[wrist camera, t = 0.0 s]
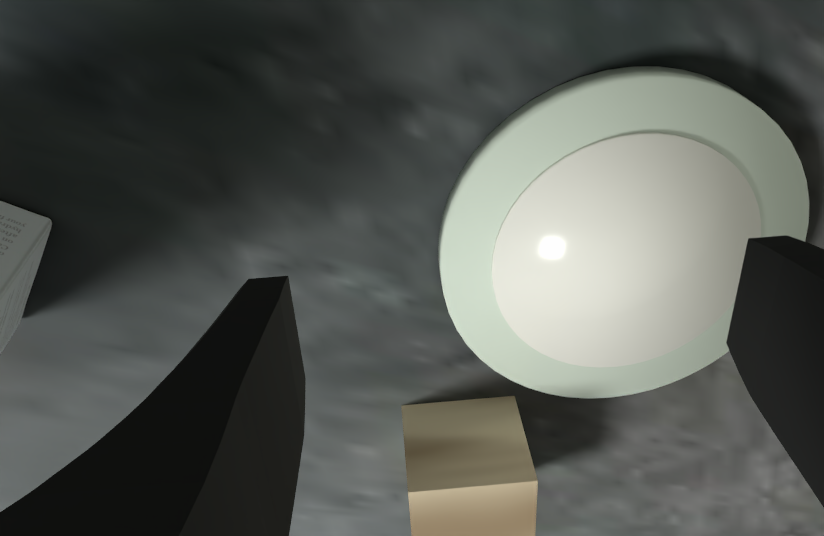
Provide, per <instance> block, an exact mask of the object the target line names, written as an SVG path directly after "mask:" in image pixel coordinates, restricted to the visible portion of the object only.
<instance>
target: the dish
mask: <svg viewBox="0 0 824 536" xmlns="http://www.w3.org/2000/svg"><path fill="white" fill-rule="evenodd" d="M808 224H809V195H808V187H807V180H806V177H805V174H804V170H803V167H802V164H801V161H800V159H799V157H798V155H797V153H796V151H795V149H794V147H793V145H792V143H791V141H790V140H789V139H788V137H787V136H786V135H785V133H784V132H783V130H782V129H781V128H780V126H779V125H778V124H777V123H776V122H775V121H774V120H772V119H771V118H770V117H769V116H768V115H767V114H766V113H765V112H764V111H763V110H762V109H760V108H759V107H758V106H756V105H755V104H754V103H752V102H751V101H749V100H748V99H747V98H745V97H744V96H742V95H741V94H739V93H738V92H736V91H735V90H733V89H732V88H730V87H729V86H727V85H725V84H723V83H721V82H718V81H716V80H714V79H712V78H710V77H707V76H705V75H701V74H697V73H694V72H690V71H687V70H683V69H675V68H667V67H660V66H635V67H625V68H618V69H611V70H605V71H601V72H597V73H593V74H590V75H586V76H582V77H579V78H576V79H574V80H572V81H569V82H567V83H564V84H562V85H559V86H557V87H554V88H552V89H551V90H549V91H547V92H545V93H543V94H542V95H540V96H538V97H536V98H534V99H532V100H531V101H529V102H528V103H526V104H525V105H524V106H522V107H521V108H519V109H518V110H517V111H515V112H514V113H512V114H511V115H510V116H508V117H507V118H506V119H505V120H504V121H503V122H502V123H501V124H500V125H498V126H497V127H496V128H495V129H494V130H493V131H492V132H491V133H490V134H489V135H488V136H487V137H486V138H485V140H484V141H483V142H482V143H481V144H480V145H479V146H478V148H477V149H476V150H475V151H474V152H473V154H472V155H471V157H470V158H469V160H468V161H467V163H466V164H465V166H464V167H463V169H462V170H461V172H460V173H459V175H458V177H457V179H456V181H455V184H454V186H453V188H452V190H451V192H450V194H449V197H448V200H447V203H446V206H445V209H444V212H443V215H442V220H441V225H440V231H439V237H438V262H439V270H440V278H441V283H442V288H443V294H444V297H445V301H446V304H447V308H448V311H449V314H450V316H451V318H452V320H453V322H454V325H455V327H456V329H457V331H458V332H459V334H460V335H461V336H462V338H463V339H464V341H465V342H466V344H467V345H468V346H469V347H470V349H471V350H472V351H473V352H474V353H475V354H476V355H477V356H478V357H479V358H480V359H481V360H482V361H483V362H485V363H486V364H487V365H488V366H490V367H491V368H492V369H493V370H494V371H496V372H498V373H499V374H501V375H503V376H504V377H506V378H508V379H509V380H511V381H514V382H516V383H518V384H520V385H523V386H525V387H527V388H530V389H533V390H537V391H540V392H544V393H547V394H552V395H558V396H564V397H573V398H610V397H617V396H625V395H631V394H635V393H640V392H644V391H648V390H652V389H655V388H658V387H661V386H664V385H667V384H670V383H673V382H675V381H677V380H679V379H682V378H684V377H686V376H688V375H691V374H693V373H695V372H696V371H698V370H700V369H702V368H704V367H705V366H707V365H709V364H711V363H712V362H714V361H715V360H717V359H718V358H720V357H721V356H723V355H724V354H726V353H727V352H728V351H729V348H728V346H727V344H726V341H727V337H728V332H729V327H730V322H731V318H732V313H733V308H734V303H735V299H736V294H737V289H738V284H739V280H740V275H741V270H742V265H743V261H744V256H745V251H746V246H747V242H748V238H760V237H772V236H785V235H787V236H790V237H793V238H796V239H799V240H802V241H804V242H805V240H806V234H807V229H808Z"/></svg>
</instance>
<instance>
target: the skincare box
mask: <svg viewBox="0 0 824 536" xmlns="http://www.w3.org/2000/svg"><path fill="white" fill-rule="evenodd" d="M51 227H52V221H51V220H50V219H49V218H47V217H44V216H41V215H38V214H35V213H33V212H30V211H27V210H24V209H22V208H19V207H16V206H13V205H11V204H8V203H5V202H3V201H0V354H1V353H2V351H3V350H4V348H5V346H6V345H7V343H8V342H9V340H10V338H11V337H12V335H13V334H14V332H15V330H16V329H17V327H18V325H19V323H20V321H21V318H22V316H23V312H24V309H25V305H26V302H27V299H28V296H29V293H30V290H31V287H32V284H33V282H34V279H35V276H36V273H37V270H38V267H39V264H40V261H41V258H42V255H43V252H44V249H45V246H46V242H47V239H48V236H49V233H50V231H51Z"/></svg>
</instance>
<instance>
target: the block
mask: <svg viewBox="0 0 824 536" xmlns="http://www.w3.org/2000/svg"><path fill="white" fill-rule="evenodd" d="M401 407H402V419H403V432H404V445H405V458H406V471H407V484H408V497H409V508H410V520H411V532H412V536H535V527H536V506H537V486H538V480H537V476H536V473H535V469H534V465H533V462H532V458H531V454H530V451H529V447H528V443H527V440H526V436H525V432H524V429H523V425H522V421H521V418H520V414H519V410H518V407H517V403H516V399H515V396H506V397H494V398H483V399H471V400H459V401H448V402H436V403H425V404H413V405H402V406H401Z"/></svg>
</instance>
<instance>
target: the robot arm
mask: <svg viewBox="0 0 824 536" xmlns="http://www.w3.org/2000/svg"><path fill="white" fill-rule="evenodd" d="M726 344H727V346H728V348H729V351H730V353H731V355H732V357H733V360H734V362H735V364H736V367H737V369H738V371H739V373H740V375H741V377H742V379H743V381H744V384H745V386H746V388H747V390H748V392H749V394H750V396H751V397H752V399H753V401H754V402H755V404H756V405H757V407H758V409H759V410H760V412H761V413H762V415H763V416H764V418H765V419H766V421H767V422H768V424H769V426H770V427H771V429H772V430H773V432H774V433H775V435H776V436H777V438H778V439H779V441H780V442H781V444H782V445H783V447H784V448H785V450H786V451H787V453H788V454H789V456H790V457H791V459H792V460H793V462H794V463H795V465H796V466H797V468H798V469H799V471H800V472H801V474H802V475H803V477H804V478H805V480H806V481H807V483H808V484H809V486H810V487H811V489H812V490H813V492H814V493H815V495H816V496H817V498H818V499H819V501H820V502H821V504H822V505H823V507H824V249H821V248H819V247H817V246H814V245H812V244H809V243H807V242H804V241H802V240H799V239H796V238H793V237H790V236H787V235H785V236H772V237H760V238H748V242H747V246H746V251H745V256H744V261H743V265H742V270H741V275H740V280H739V284H738V289H737V294H736V299H735V303H734V308H733V313H732V318H731V322H730V327H729V332H728V337H727V341H726ZM304 421H305V373H304V367H303V361H302V356H301V350H300V344H299V338H298V332H297V326H296V320H295V314H294V308H293V302H292V296H291V291H290V285H289V279H288V276H280V277H268V278H256V279H248V280H247V281H246V283H245V284H244V285H243V286H242V287H241V288H240V290H239V291H238V292H237V293H236V295H235V296H234V297H233V298H232V300H231V301H230V302H229V304H228V305H227V306H226V307H225V309H224V310H223V311H222V313H221V314H220V315H219V316H218V318H217V319H216V320H215V321H214V323H213V324H212V325H211V326H210V328H209V329H208V330H207V331H206V333H205V334H204V335H203V336H202V337H201V338H200V340H199V341H198V342H197V343H196V344H195V346H194V347H193V348H192V349H191V350H190V351H189V353H188V354H187V355H186V356H185V357H184V359H183V360H182V361H181V362H180V363H179V364H178V365H177V366H176V367H175V369H174V370H173V371H172V372H171V373H170V374H169V375H168V376H167V377H166V378H165V379H164V380H163V381H162V382H161V383H160V384H159V385H158V386H157V388H156V389H155V390H154V391H153V392H152V393H151V394H150V395H149V396H148V397H147V398H146V399H145V400H144V401H143V402H142V403H141V404H140V405H139V406H138V407H137V408H135V409H134V410H133V411H132V412H131V413H130V414H129V415H128V416H127V417H126V418H125V419H123V420H122V421H121V422H120V423H119V424H118V425H116V426H115V427H114V428H113V429H112V430H111V431H109V432H108V433H107V434H106V435H105V436H104V437H103V438H101V439H100V440H99V441H98V442H97V443H95V444H94V445H93V446H92V447H90V448H89V449H88V450H87V451H85V452H84V453H83V454H81V455H80V456H79V457H77V458H76V459H75V460H73V461H72V462H71V463H69V464H68V465H67V466H65V467H64V468H63V469H61V470H60V471H58V472H57V473H56V474H54V475H53V476H52V477H50V478H49V479H48V480H46V481H45V482H44V483H42V484H41V485H40V486H38V487H37V488H36V489H34V490H33V491H31V492H30V493H29V494H27V495H26V496H24V497H23V498H21V499H20V500H18V501H17V502H15V503H14V504H12V505H11V506H9V507H8V508H6V509H5V510H3V511H2V512H0V536H289V531H290V524H291V518H292V511H293V505H294V499H295V492H296V486H297V479H298V472H299V466H300V459H301V452H302V445H303V438H304Z"/></svg>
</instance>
